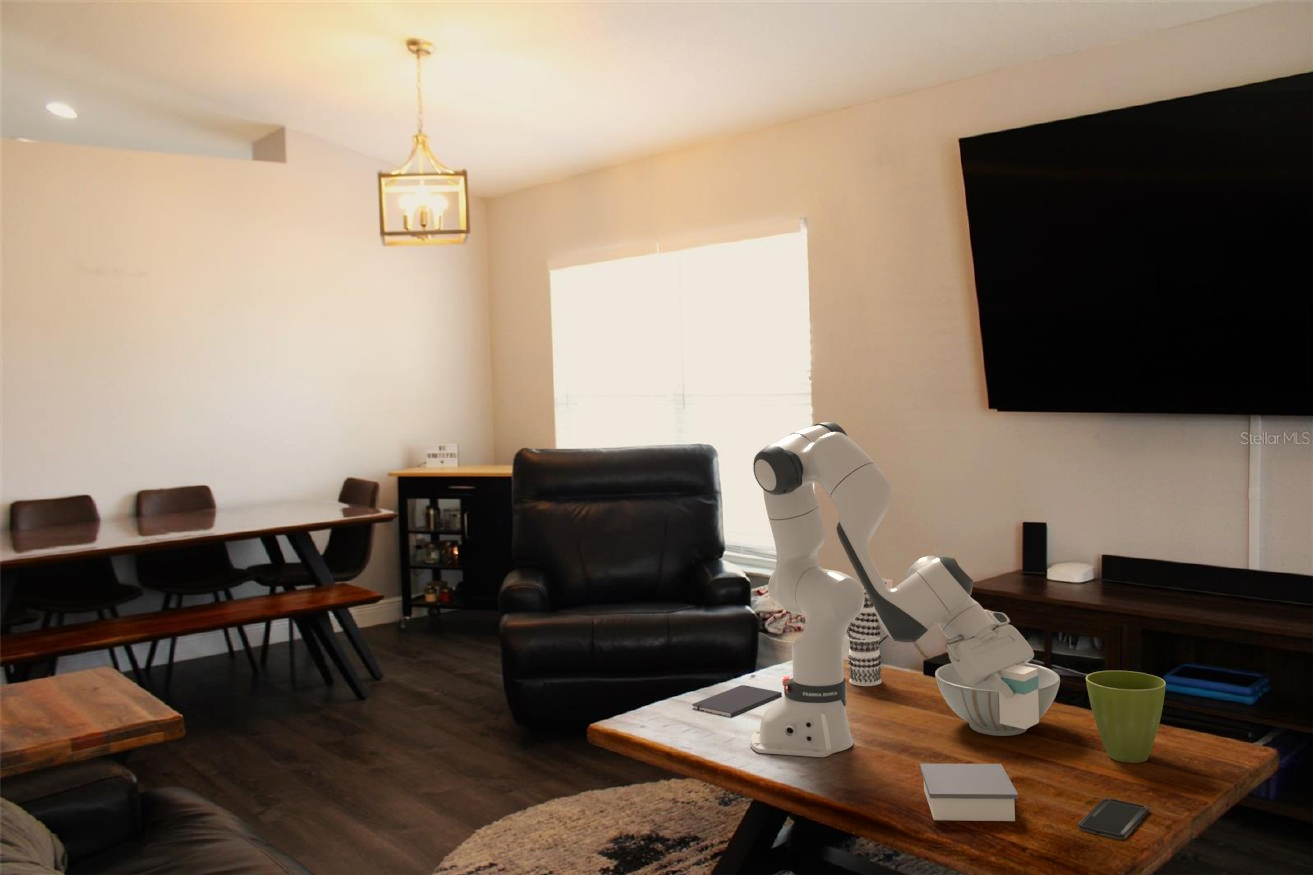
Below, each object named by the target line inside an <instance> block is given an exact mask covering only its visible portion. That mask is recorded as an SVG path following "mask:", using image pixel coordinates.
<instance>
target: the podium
mask: <svg viewBox="0 0 1313 875" xmlns="http://www.w3.org/2000/svg"><path fill="white" fill-rule="evenodd" d="M919 769H920V773H921V775H922V778H923V791H924V794H925V797H926V800H927V803H928V806H929V809H930V813H931V816H932V818H933V821H968V822H969V821H972V822H973V821H974V822H975V821H976V822H977V821H978V822H979V821H980V822H981V821H983V822H987V821H988V822H989V821H990V822H992V821H993V822H994V821H995V822H1016V818H1015V817H1016V815H1015V814H1016V811H1015V809H1016V808H1015V800H1019V794H1018V792H1017V790H1016V788H1015V786H1014V785H1013V783H1012V781H1011V779H1010V777H1009V775H1008V774H1007V772H1006V770H1005V768H1004V766H1003V765H1002V763H919Z"/></svg>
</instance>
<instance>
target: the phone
mask: <svg viewBox="0 0 1313 875" xmlns="http://www.w3.org/2000/svg"><path fill="white" fill-rule="evenodd" d="M1149 809H1150V808H1149V807H1148V806H1146V805H1141V804H1137V803H1132V802H1127V801H1123V800H1117V799H1115V798H1114V799H1113V798H1103V799H1102V800H1101V801H1100V802H1099V803H1098V804H1097V805H1096V806H1095V807H1094V808H1093V809H1092V810H1091V811H1090V812H1089V813H1088V814H1086V816H1085V817H1083V818H1082V819H1081V820H1080V821H1079V822H1078V829H1079V830H1080V831H1082V832H1085V833H1089V834H1090V833H1091V834H1094V835H1099V836H1103V837H1108V838H1111V839H1116V840H1126V839H1127V838H1128V837H1129V836H1130V835H1131V833H1132V832H1133V831H1134V830H1135V829H1136V828H1137V827H1138V826H1137V825H1138V824H1139V825H1140V823H1141V822H1142V821H1143V820H1144V819H1145V818H1146V817H1147V816H1148V815H1149V814H1150V810H1149ZM1148 813H1149V814H1148ZM1147 814H1148V815H1147ZM1146 815H1147V816H1146ZM1145 816H1146V817H1145ZM1144 817H1145V818H1144ZM1143 818H1144V819H1143ZM1142 819H1143V820H1142ZM1141 820H1142V821H1141ZM1136 826H1137V827H1136ZM1135 827H1136V828H1135ZM1134 828H1135V829H1134ZM1133 829H1134V830H1133ZM1132 830H1133V831H1132ZM1128 835H1129V836H1128Z"/></svg>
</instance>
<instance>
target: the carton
mask: <svg viewBox="0 0 1313 875" xmlns="http://www.w3.org/2000/svg"><path fill="white" fill-rule="evenodd" d="M998 674H999V675H1000V676H1001V678H1000V679H1001V680H1003V681H1004V682H1005V683H1006V684H1008V685H1010V684H1011V686H1012V687H1013V689H1015V690H1016V694H1015V695H1014V696H1012V697H1011V698H1008V699H1006V698H1005V697H1004V696H1003V694H1002V693H1001V692H1000V691H999V713H1000V724H1004V725H1008V726H1013V727H1017V728H1021V729H1027V730H1028V729H1029V728H1031V727H1033V726H1035V725H1037V724H1039V723H1040V718H1039V702H1038V689H1039V688H1038V669H1037V668H1032V667H1026V666H1021V665H1013V666H1010V667H1008V668H1005V669H1003V670H1001V671H998Z"/></svg>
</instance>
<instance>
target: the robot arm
mask: <svg viewBox="0 0 1313 875" xmlns="http://www.w3.org/2000/svg"><path fill="white" fill-rule="evenodd" d="M752 464H753V474H754V477H755V480H756V482H757V483H758V485H759V487H761V489H762V492H763V498H764V505H765V509H766V514H767V517H768V521H769V525H770V528H771V533H772V535H773V541H774V545H775V549H776V550H775V551H776V564H775V569H774V571H773V572H772V573H771V575H770V577H769V580H768V584H767V592H768V595H769V598H770V600H771V601H772V603H774V604H775V605H777V606H778V607H780V608H782V609H783V610H785V611H787V613H792V614H796V615H800V616H804V618H805V625H804V627H803V631H802V634H801V636H798V637H797V638H796V639H795V640H794V641H793V644H792V646H791V657H792V658H791V662H792V663H791V664H792V678H790V676H784V677H783V678H782V686H783V692H784V693H783V694H784V696H783V697H781V698H780V699H779V700H777V701H776V702H775V703H774V704H772V705H771V706H769V707H768V708H766V710H765V711H764V713H763V715H762V718H761V721H760V728H759V729H757V730H755V731H754V732H753V733H752V735H751V737H750V747H751V749H752V750H753V751H755V752H756V753H758V754H770V755H771V754H773V755H785V756H786V755H787V756H798V757H799V756H801V757H813V758H825V757H828V756H831V755H832V754H835V753H838V752H843V751H845V750H848V749H850V748H851V747H852V746H853V745H854V739H853V736H852V733H851V730H850V726H849V721H848V720H849V719H848V714H847V707H846V705H847V701H848V693H847V692H848V691H847V689H848V688H847V682H846V678H844V645H845V637H846V635H847V633H848V627H849V628H850V626H849V625H850V623H851V622H852V621H853V620H854V619H855V618H856V617H857V616H858V615H859V614H860V613H861V611H862V609H863V606H864V600H865V595H864V590H863V587H864V588H865V590H866V592H867V594H868V596H869V598H870V599H871V601H872V603H873V606H874V609H875V612H876V615H877V618H878V621H879V622H878V623H879V626H880V627H881V628H882V630H883V631H884V633H886V635H887V636H888V637H889V638H891V639H892V640H893V642H896V643H897V642H899V643H904V644H905V643H907V644H908V643H909V644H910V643H916V642H917V641H918V640H919V639H920V638H921V637H923V636H924V635H925V634H926V633H927V632H928V631H929V629H931V628H932V627H933V626H934V625H936V624H938V626H939V628H940V630H941V631H940V632H942V634H944V636H945V637H946V640H945V645H944V646H945V647H944V648H945V651H946V653H947V654H948V658H949V660H950V662H951V663H952V664H953V666H954V667H955V669H956V670H957V672H958V673H959V675H960V676H961V678H962V679H963V680H964V682H965V683H967V684H968V685H970V686H975V685H977V684H980V683H982V682H985V681H987V682H988V683H989V685H990V686H992V687H993V688H995V689H996V690H998V691H1000V692H1001V693H1002V694H1003V696H1004V697H1005V698H1006V699H1008V698H1011V697H1012V696H1014V695H1015V694H1016V690H1015V689H1013V687H1012V686H1011V684H1010V685H1008V684H1006V683H1005V682H1004V681H1003V680H1001V679H1000V678H1001V676H1000V675H999V674H998V671H1001V670H1003V669H1005V668H1008V667H1010V666H1013V665H1021V666H1024V665H1025V664H1027V663H1029V662H1030V661H1031V660H1032V659H1033V658H1034V657H1035V653H1034V650H1033V648H1032V647H1031V645H1030V644H1029V642H1028V641H1027V640H1026V639H1025V637H1024V636H1023V635H1022V634H1021V633H1020V632H1019V630H1018V629H1017V628H1016V627H1015V626H1013V625H1011V624H1009V623H1010V622H1011V620H1010V617H1008V615H1006V613H1004V612H998V611H992V610H990V609H985V608H983V607H982V605H981V604H980V603H979V602H978V601H976V600H975V599H974V598H972V597H971V595H972V592H973V586H974V580H973V579H972V578H971V577H970V576H969V575H968V574H967V573H966V572H965V571H964V570H963V568H961V567H960V566H959V563H958V562H957V559H955V558H954V557H950V556H949V557H948V556H937V557H936V556H935V555H926V556H923V557H920V558H919V559H917V560H916V561H914V562H913V563H912V564H911V565H910V566H909V567H908V569H907V570H906V573H905V575H904V576H905V579H904V580H903V581H902V582H901V583H899V584H897V585H896V586H895V587H891V588H890V587H888V585H886V582H885V581H884V578H883V577H882V574H881V573H880V571H879V570H878V568H877V565H876V564H875V561H874V560H873V558H872V556H871V553H870V545H871V541H872V539H873V536H874V535H875V533H876V531H877V529H878V527H879V526H880V524H882V522H883V520H884V518H885V516H886V515H887V513H888V511H889V508H890V504H891V501H892V487H891V484H890V482H889V480H888V479H887V477H886V475H885V473H883V472H882V470H881V469H880V467H879V466H878V465H877V464H876V462H875V461H874V460H873V459H872V458H871V457H870V455H869V454H868V453H866V452H865V450H863V449H862V447H860V446H859V445H858V444H857V443H856V442H855V441H854V440H853V439H851V437H849V436H848V434H847V432H846V431H845V430H844V429H843V428H842V427H841V426H840V425H839V424H837V423H836V422H832V421H827V422H826V421H825V422H824V421H823V422H818V423H816V424H813V425H812V426H810V427H806V428H803V429H799V430H797V431H794V432H792V433H790V434H789V435H788V436H786V437H783V438H781V439H780V440H778V441H776V442H775V443H773V444H769V445H767V446H765V447H764V448H762V449H760V450H759V451H758V453H756V455H755V456H754V458H753V463H752ZM816 482H817V483H819V485H821V487H822V488H823V490H824V491H825V493H826V494H827V495H828V496H829V498H830V499H831V501H832V502H833V504H834V505H835V507H836V510H837V514H838V518H839V519H838V520H839V522H838V523H837V525H836V527H835V528H836V533H837V536H838V539H839V541H840V543H841V545H842V548H843V549H844V551H845V553H846V555H847V557H848V559H849V562H850V564H851V566H852V567H853V569H854V571H855V573H856V575H857V576H858V579H859V580H860V582H859V580H858V579H856V578H854V577H853V576H850V575H848V574H846V573H844V572H843V571H838V570H832V569H828V568H822V567H821V565H820V563H819V549H821V548H822V547H823V545H824V544H825V542H826V540H827V539H826V531H825V526H824V522H823V520H822V515H821V511H820V508H819V505H818V501H817V497H816V494H815V491H814V483H816Z"/></svg>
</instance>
